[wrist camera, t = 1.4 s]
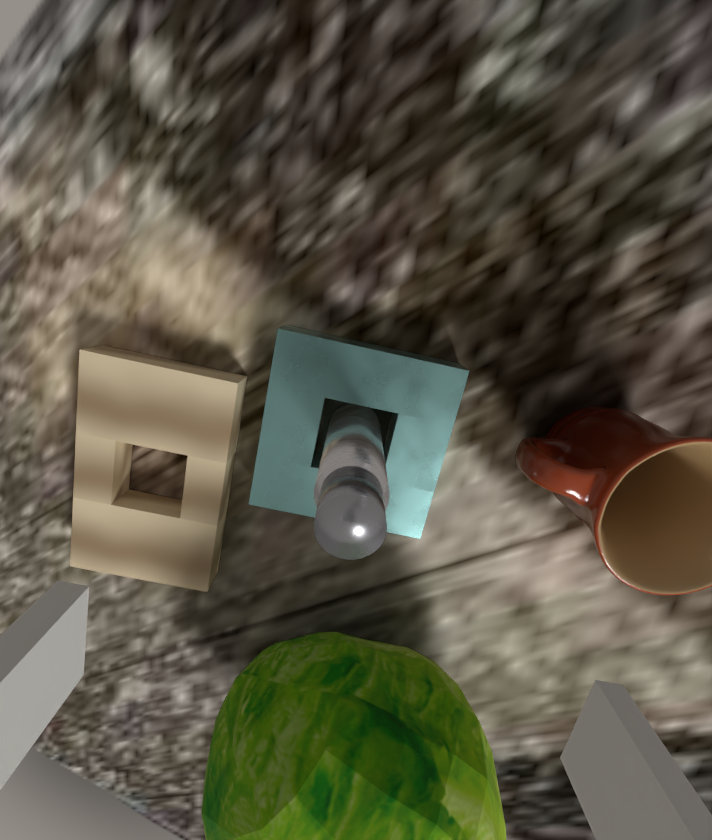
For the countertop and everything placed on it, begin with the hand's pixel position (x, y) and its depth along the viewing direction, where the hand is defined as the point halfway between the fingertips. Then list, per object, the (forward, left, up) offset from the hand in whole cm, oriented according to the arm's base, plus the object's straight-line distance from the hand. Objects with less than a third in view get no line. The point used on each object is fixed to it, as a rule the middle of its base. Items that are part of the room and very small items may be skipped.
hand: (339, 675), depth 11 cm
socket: (0, 0, -21) cm, 21 cm away
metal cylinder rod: (0, 0, -21) cm, 21 cm away
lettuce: (+22, +6, -21) cm, 31 cm away
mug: (-2, +15, -21) cm, 26 cm away
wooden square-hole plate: (+6, -13, -21) cm, 25 cm away
